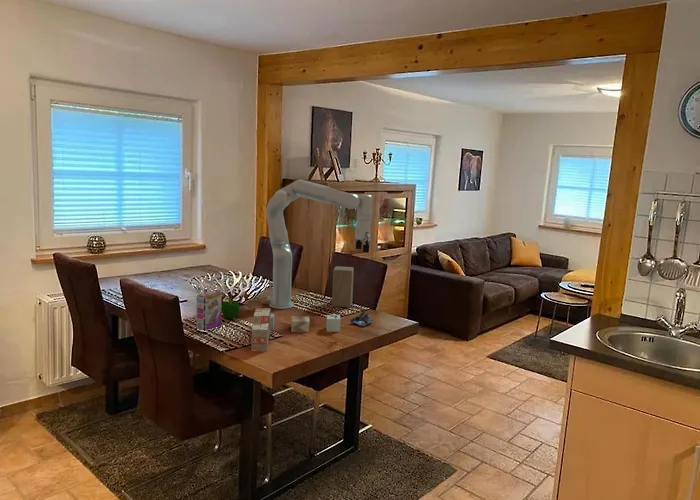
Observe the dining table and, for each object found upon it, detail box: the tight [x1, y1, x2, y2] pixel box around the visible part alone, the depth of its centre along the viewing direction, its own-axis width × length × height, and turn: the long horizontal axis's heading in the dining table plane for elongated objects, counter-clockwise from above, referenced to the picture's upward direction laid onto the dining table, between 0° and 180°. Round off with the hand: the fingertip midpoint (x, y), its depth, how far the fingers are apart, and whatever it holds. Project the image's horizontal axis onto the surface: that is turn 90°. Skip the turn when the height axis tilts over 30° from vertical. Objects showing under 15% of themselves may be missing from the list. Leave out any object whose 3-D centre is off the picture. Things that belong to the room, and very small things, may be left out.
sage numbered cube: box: [325, 314, 341, 333], centre depth 247 cm, size 6×6×6 cm
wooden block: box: [331, 265, 355, 308], centre depth 289 cm, size 10×10×20 cm
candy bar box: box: [195, 290, 223, 331], centre depth 238 cm, size 11×5×16 cm, turn 152°
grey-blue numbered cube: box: [270, 313, 275, 331], centre depth 244 cm, size 6×6×6 cm
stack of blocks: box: [250, 307, 272, 352], centre depth 224 cm, size 21×6×12 cm, turn 5°
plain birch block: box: [290, 315, 310, 333], centre depth 245 cm, size 8×8×5 cm
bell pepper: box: [221, 297, 240, 320], centre depth 257 cm, size 8×8×10 cm
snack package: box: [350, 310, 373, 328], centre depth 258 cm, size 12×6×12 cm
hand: (362, 250), depth 285 cm, fingers open, 9 cm apart
